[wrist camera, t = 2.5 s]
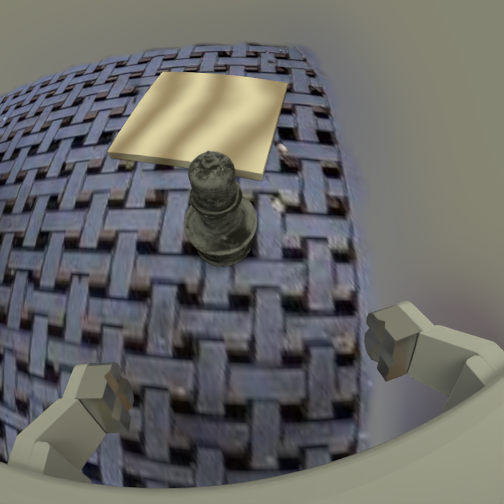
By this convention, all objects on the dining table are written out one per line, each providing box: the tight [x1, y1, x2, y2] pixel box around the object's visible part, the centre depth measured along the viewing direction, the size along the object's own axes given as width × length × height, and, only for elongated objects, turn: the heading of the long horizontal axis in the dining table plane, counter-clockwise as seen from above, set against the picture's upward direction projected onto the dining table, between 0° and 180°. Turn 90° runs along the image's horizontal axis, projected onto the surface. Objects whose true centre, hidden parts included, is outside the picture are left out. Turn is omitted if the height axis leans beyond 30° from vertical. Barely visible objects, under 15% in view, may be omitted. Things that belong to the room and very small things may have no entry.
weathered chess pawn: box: [184, 151, 257, 267], centre depth 21 cm, size 6×6×12 cm
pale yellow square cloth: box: [108, 72, 288, 181], centre depth 32 cm, size 18×16×1 cm
